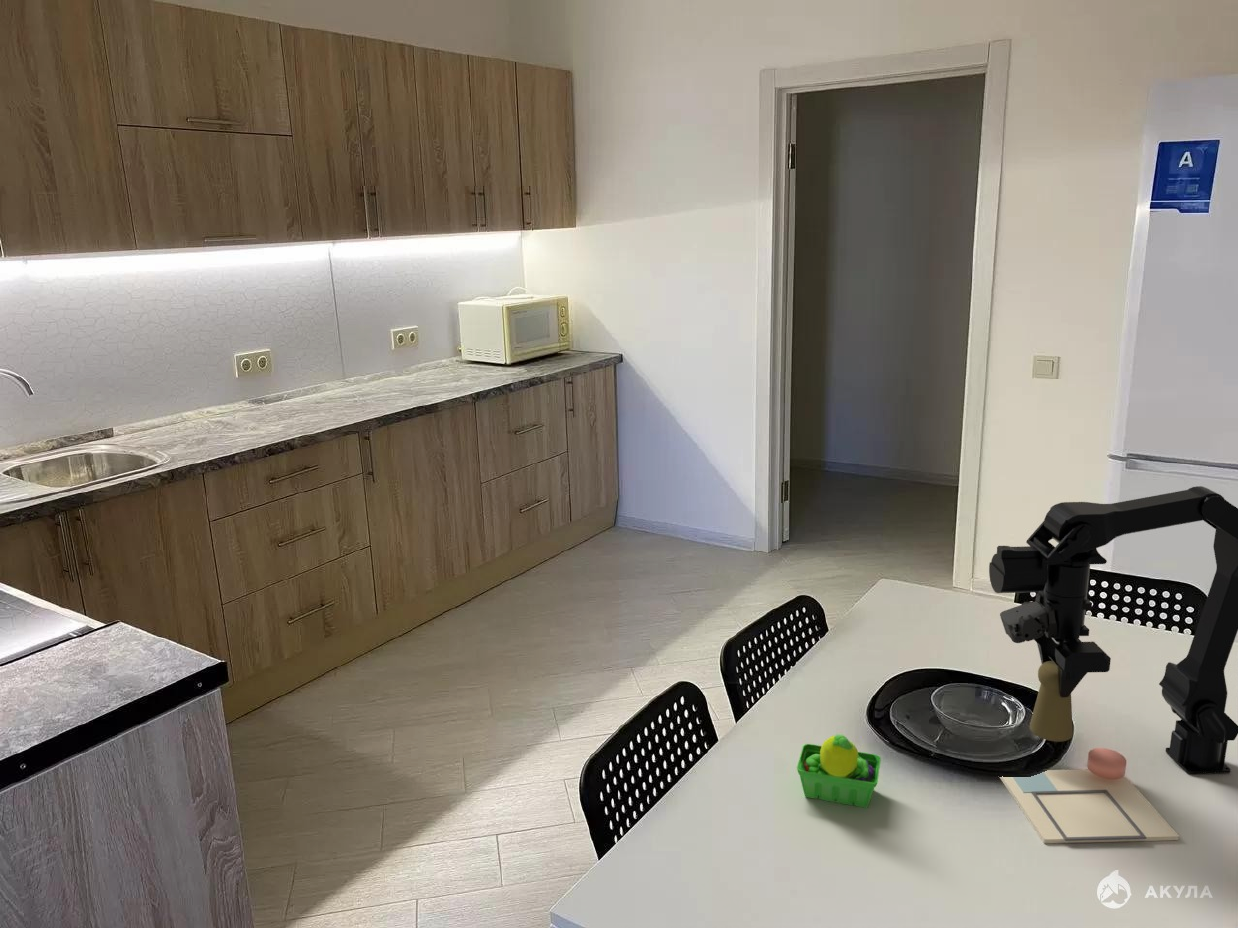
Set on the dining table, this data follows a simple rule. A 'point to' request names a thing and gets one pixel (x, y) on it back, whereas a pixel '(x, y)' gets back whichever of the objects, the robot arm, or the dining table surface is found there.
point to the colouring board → (1086, 808)
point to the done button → (1106, 763)
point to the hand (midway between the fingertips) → (1056, 687)
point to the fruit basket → (838, 772)
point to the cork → (1051, 707)
